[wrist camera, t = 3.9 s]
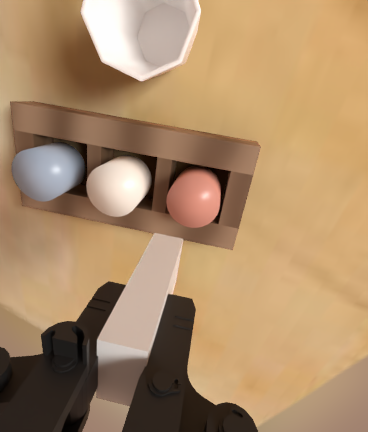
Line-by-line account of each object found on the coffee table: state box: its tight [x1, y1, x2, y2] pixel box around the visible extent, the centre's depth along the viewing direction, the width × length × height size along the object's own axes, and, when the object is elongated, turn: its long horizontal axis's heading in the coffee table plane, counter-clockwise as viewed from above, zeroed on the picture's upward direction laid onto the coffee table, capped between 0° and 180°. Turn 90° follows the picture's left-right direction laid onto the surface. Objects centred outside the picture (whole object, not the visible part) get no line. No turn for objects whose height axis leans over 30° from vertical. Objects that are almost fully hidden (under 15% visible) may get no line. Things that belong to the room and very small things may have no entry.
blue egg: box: [12, 142, 86, 201], centre depth 23 cm, size 4×4×4 cm
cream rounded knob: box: [86, 155, 152, 217], centre depth 23 cm, size 4×4×4 cm
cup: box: [81, 0, 201, 82], centre depth 18 cm, size 7×10×8 cm
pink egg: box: [166, 166, 221, 228], centre depth 23 cm, size 4×4×4 cm
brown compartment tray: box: [10, 102, 261, 250], centre depth 26 cm, size 22×10×3 cm, turn 81°
